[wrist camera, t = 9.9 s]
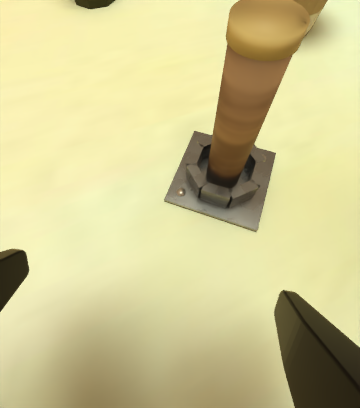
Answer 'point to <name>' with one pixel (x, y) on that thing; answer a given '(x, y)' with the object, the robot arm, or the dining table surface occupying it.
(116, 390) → the dining table surface
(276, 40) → the tall ribbed vase
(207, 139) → the cup bracket
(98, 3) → the wine bottle
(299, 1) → the coffee cup
